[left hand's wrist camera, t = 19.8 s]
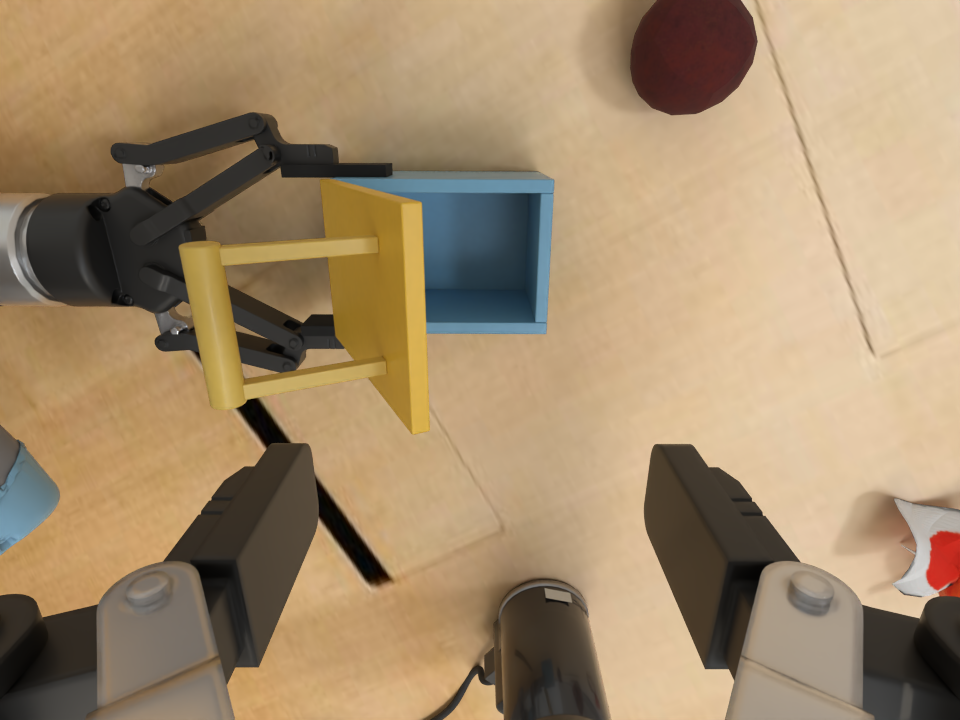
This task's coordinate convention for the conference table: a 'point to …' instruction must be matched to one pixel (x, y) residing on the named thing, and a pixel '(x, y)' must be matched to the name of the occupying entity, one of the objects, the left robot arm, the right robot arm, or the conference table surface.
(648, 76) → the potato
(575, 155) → the conference table surface
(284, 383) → the lid
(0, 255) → the right robot arm
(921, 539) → the fish
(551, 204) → the chest
